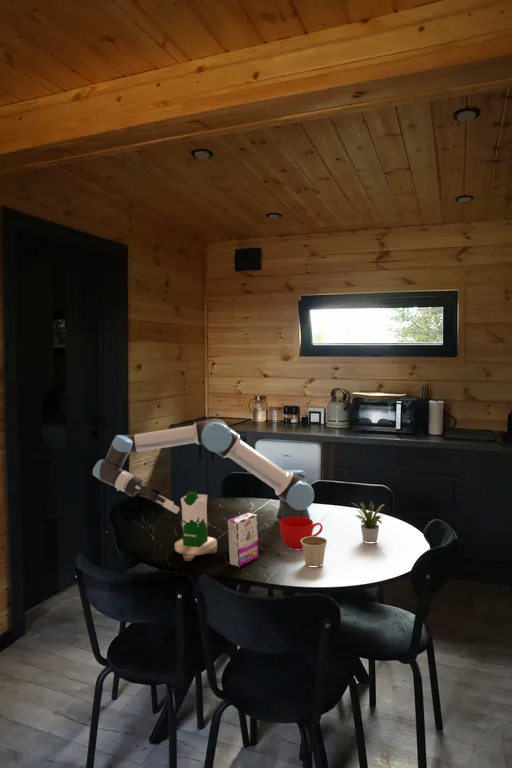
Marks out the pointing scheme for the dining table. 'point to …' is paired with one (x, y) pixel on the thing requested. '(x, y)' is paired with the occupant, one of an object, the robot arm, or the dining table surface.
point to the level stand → (196, 548)
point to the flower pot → (314, 550)
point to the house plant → (369, 523)
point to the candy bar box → (243, 539)
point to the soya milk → (194, 519)
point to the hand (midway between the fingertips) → (175, 508)
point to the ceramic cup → (297, 530)
